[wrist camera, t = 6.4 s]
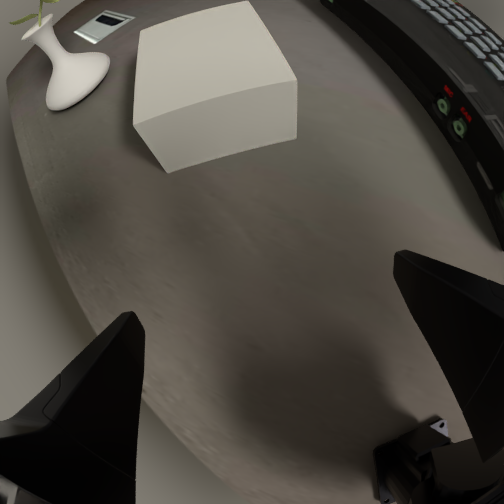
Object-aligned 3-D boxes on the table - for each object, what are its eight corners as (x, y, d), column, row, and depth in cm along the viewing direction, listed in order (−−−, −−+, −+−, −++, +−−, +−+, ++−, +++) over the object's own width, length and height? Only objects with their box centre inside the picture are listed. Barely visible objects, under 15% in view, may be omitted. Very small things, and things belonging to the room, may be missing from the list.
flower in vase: (56, 130, 30) (-48, 16, 6) (50, 95, 33) (-27, 1, 9) (133, 72, 31) (56, -69, 7) (115, 48, 34) (54, -61, 10)
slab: (296, 140, 25) (297, 79, 18) (168, 174, 25) (132, 125, 18) (255, 49, 29) (247, 0, 22) (161, 74, 30) (140, 30, 23)
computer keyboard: (584, 201, 19) (608, 183, 12) (502, 264, 20) (547, 243, 13) (437, 8, 32) (443, -15, 25) (317, 3, 32) (317, -29, 26)
